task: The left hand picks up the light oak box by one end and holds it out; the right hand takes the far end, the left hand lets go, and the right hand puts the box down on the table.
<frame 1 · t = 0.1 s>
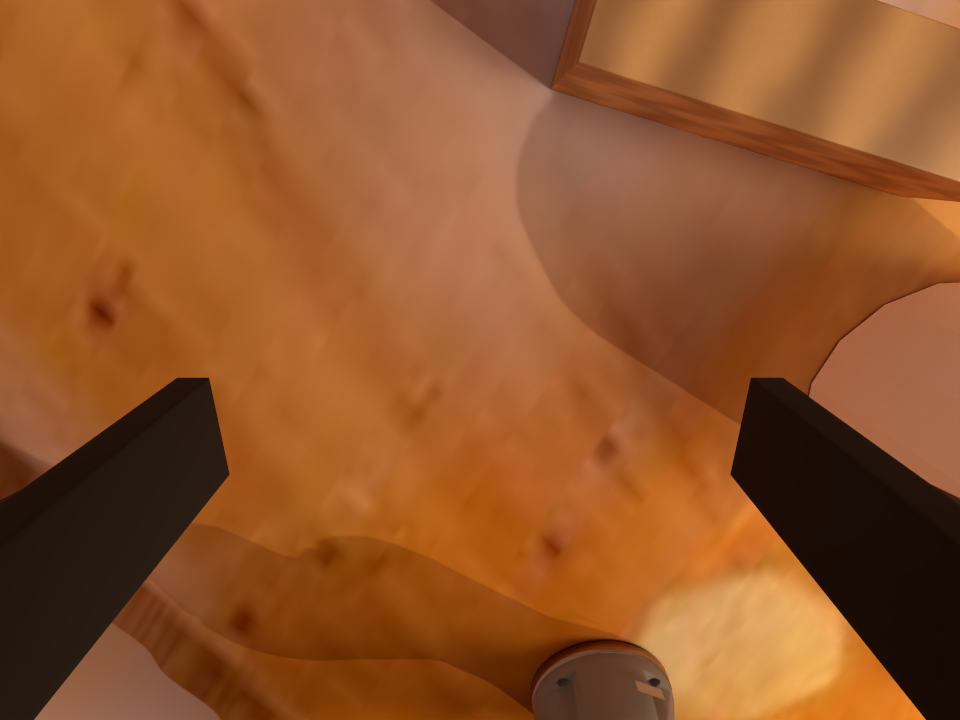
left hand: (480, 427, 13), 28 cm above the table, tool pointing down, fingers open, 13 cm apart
container: (925, 399, 44), on the table
box: (750, 98, 35), on the table
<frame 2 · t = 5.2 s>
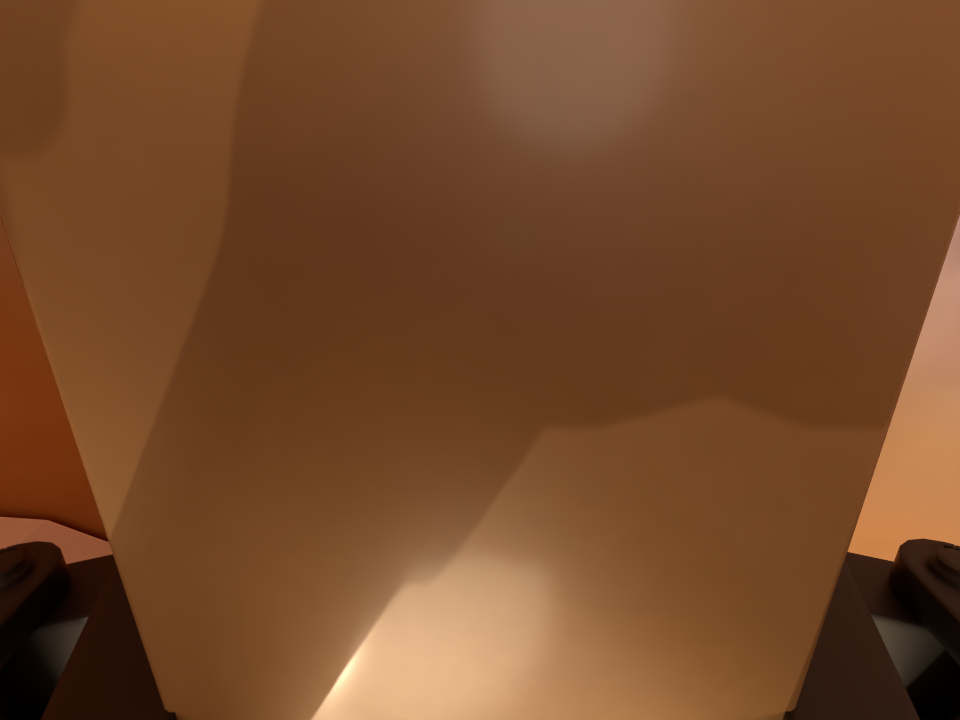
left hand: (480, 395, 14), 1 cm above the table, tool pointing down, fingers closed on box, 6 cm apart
container: (56, 717, 21), on the table
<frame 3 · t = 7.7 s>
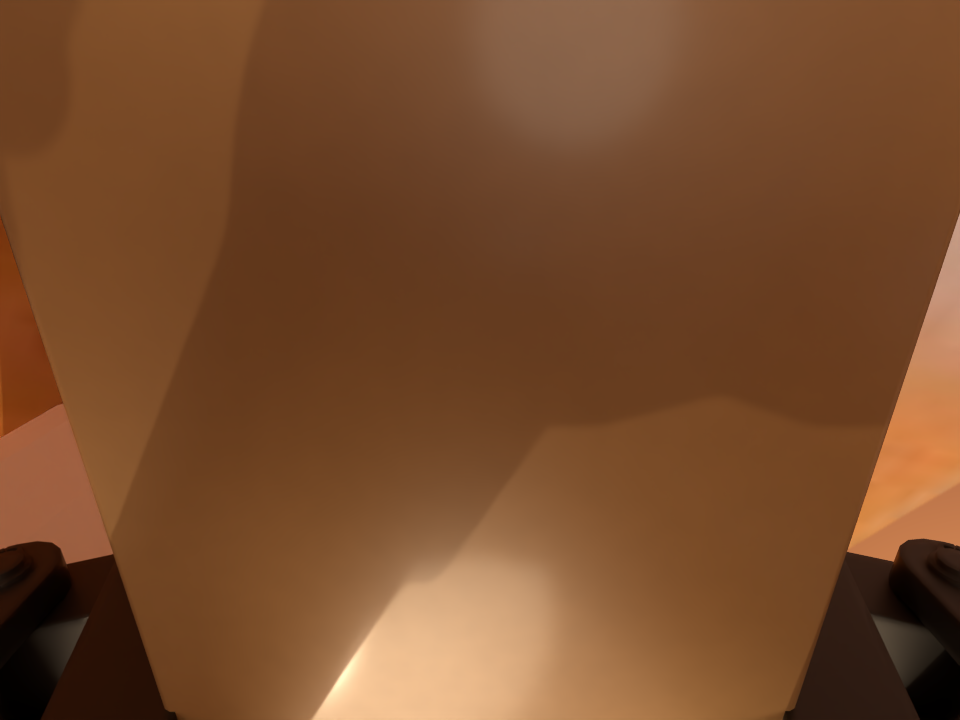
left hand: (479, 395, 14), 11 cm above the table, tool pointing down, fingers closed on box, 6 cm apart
container: (190, 542, 30), on the table
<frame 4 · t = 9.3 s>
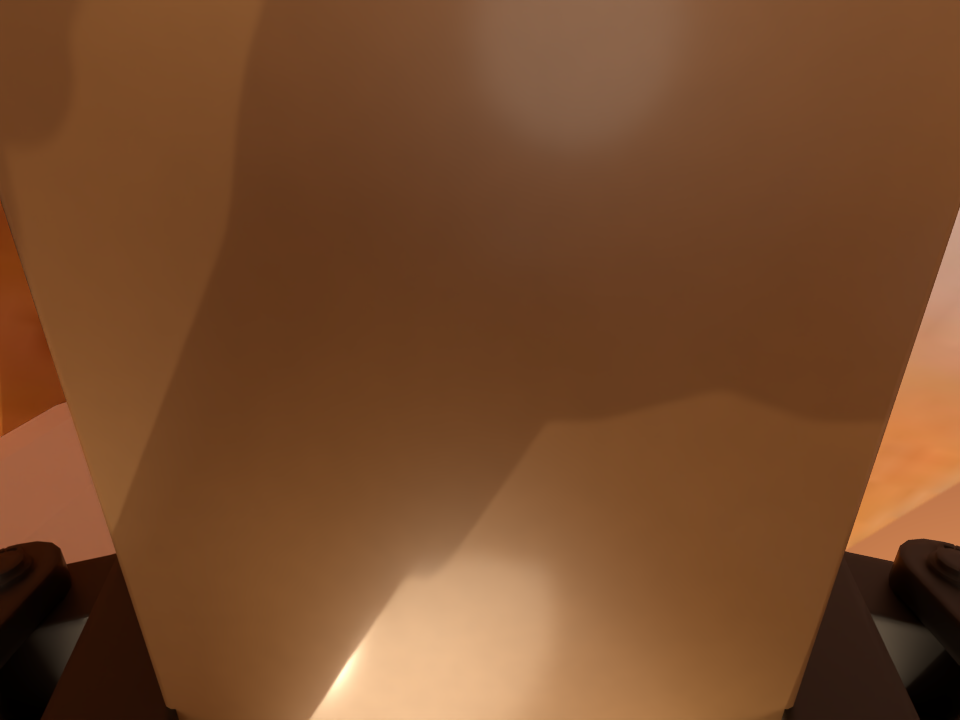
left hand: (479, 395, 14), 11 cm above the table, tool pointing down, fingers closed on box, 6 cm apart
container: (190, 542, 30), on the table
when the left hand's fingers open (11 cm above the table, at t = 10.4 s): box stays where it is, held by the right hand.
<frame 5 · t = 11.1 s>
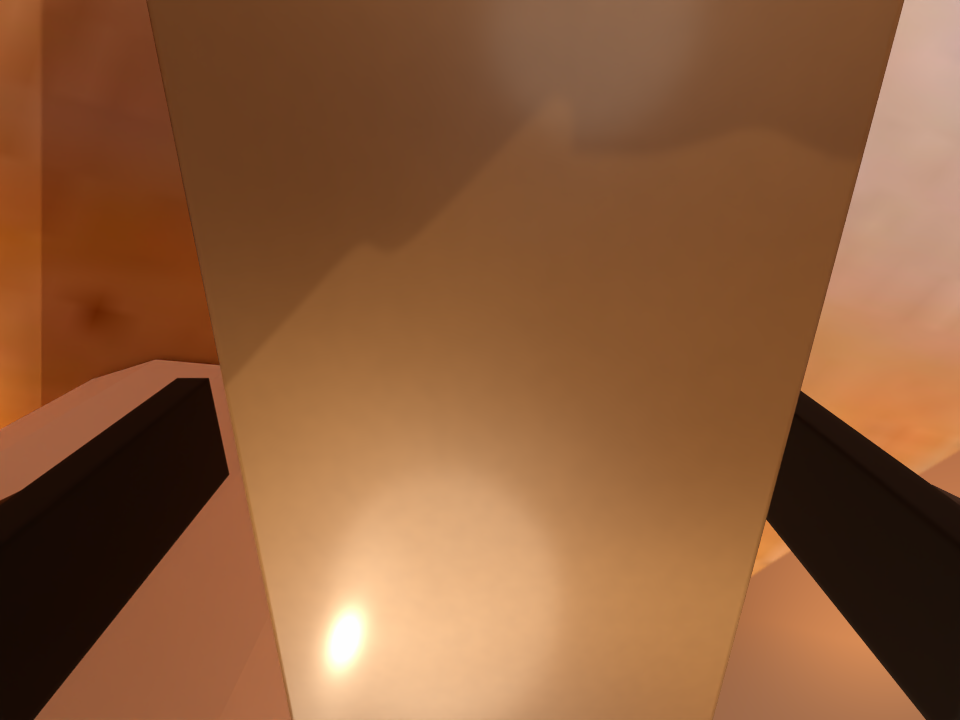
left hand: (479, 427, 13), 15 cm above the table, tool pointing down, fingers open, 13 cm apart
container: (213, 512, 32), on the table
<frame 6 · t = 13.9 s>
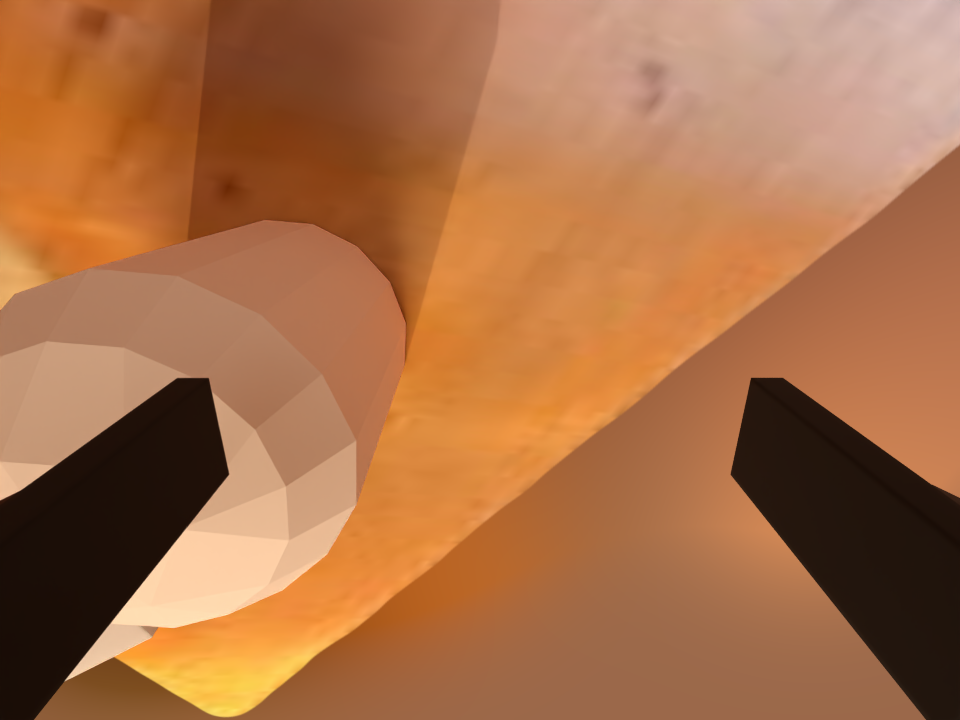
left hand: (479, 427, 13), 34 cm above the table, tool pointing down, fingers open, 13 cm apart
container: (295, 334, 47), on the table
skincare box: (150, 531, 56), on the table
when the right hand's fingers open (7 cm above the table, at t = 18.9 s): box stays where it is, on the table.
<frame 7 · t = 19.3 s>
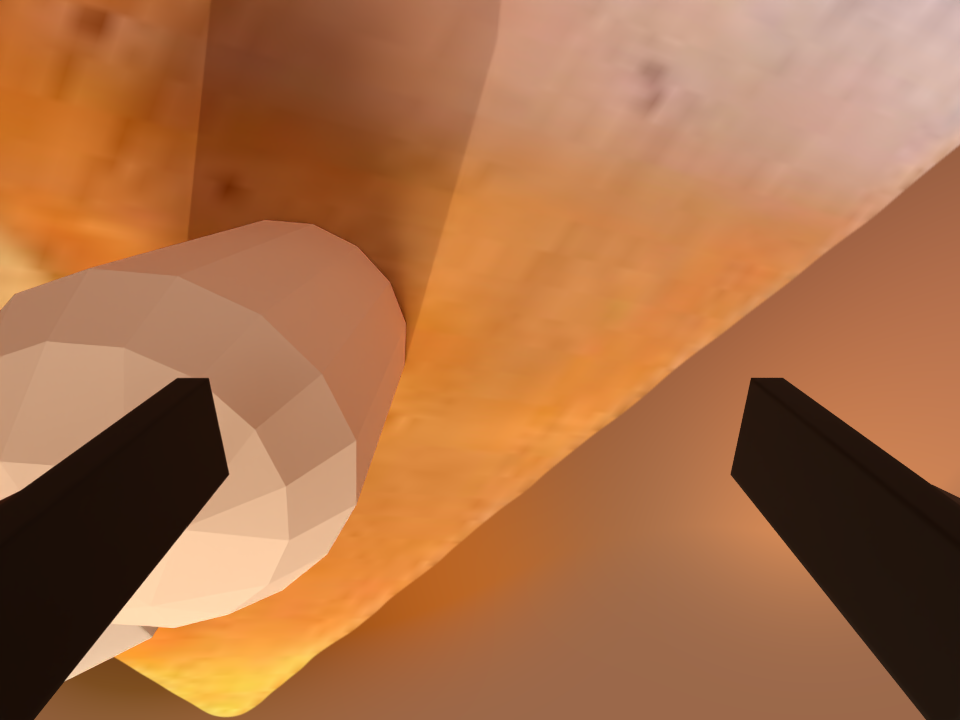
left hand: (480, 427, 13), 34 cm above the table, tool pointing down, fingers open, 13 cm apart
container: (295, 334, 47), on the table
skincare box: (150, 531, 56), on the table
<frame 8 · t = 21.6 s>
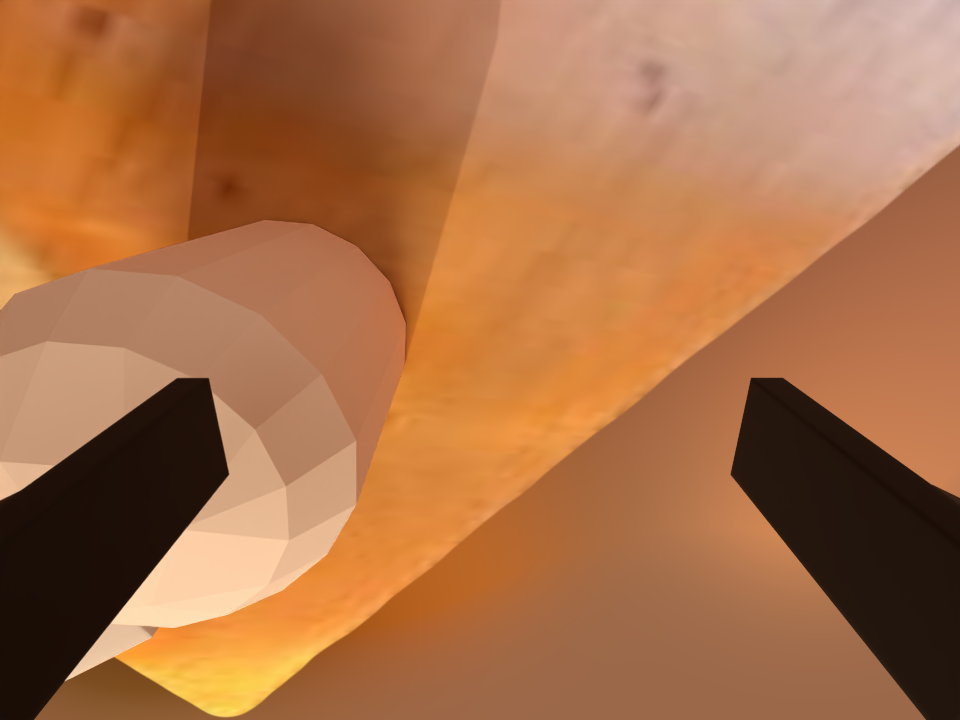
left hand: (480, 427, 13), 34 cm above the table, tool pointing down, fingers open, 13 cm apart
container: (295, 334, 47), on the table
skincare box: (150, 531, 56), on the table
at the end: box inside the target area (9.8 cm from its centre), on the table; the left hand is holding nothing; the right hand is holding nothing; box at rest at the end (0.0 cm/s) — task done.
